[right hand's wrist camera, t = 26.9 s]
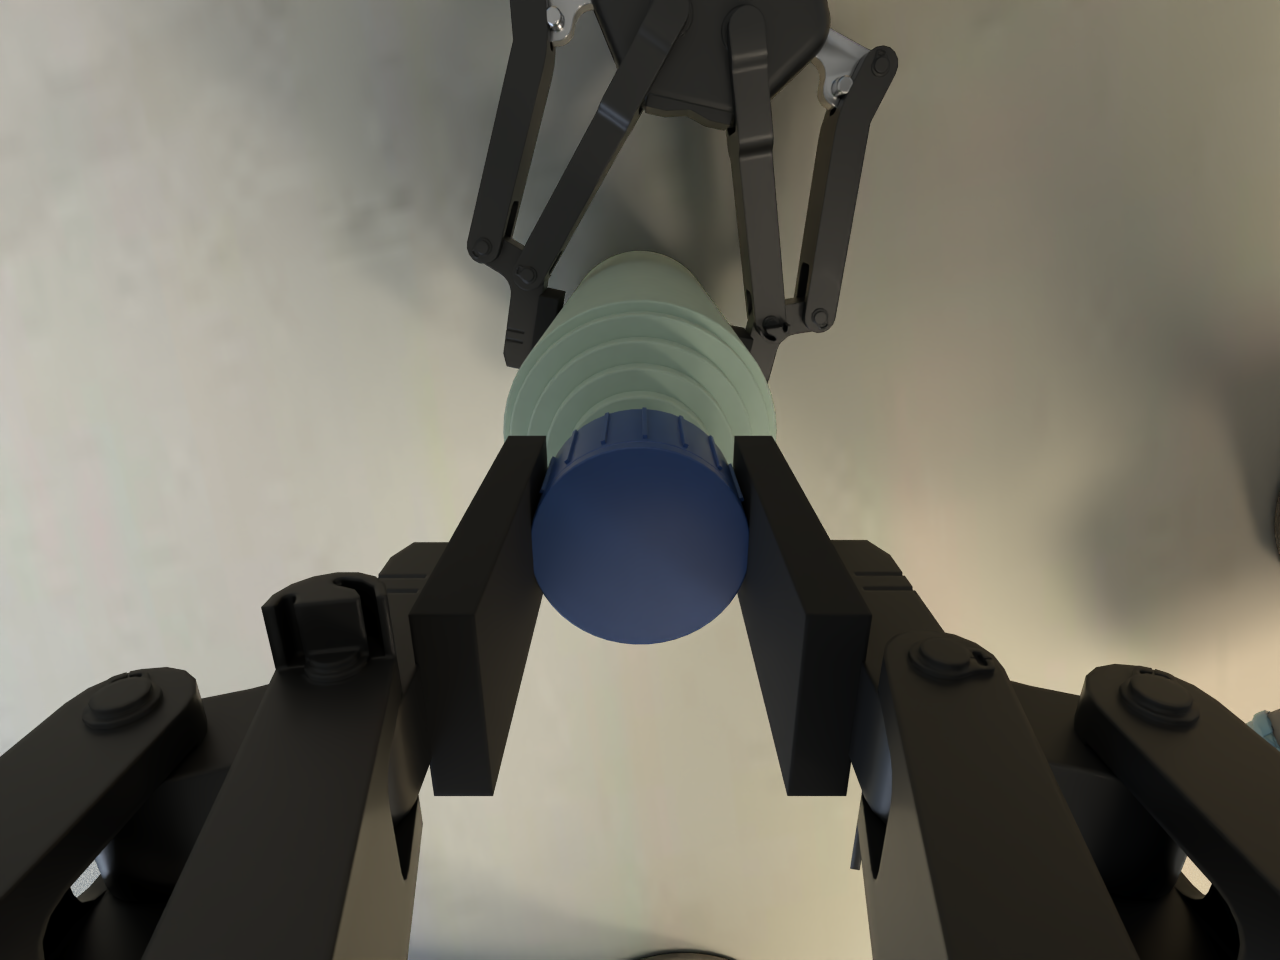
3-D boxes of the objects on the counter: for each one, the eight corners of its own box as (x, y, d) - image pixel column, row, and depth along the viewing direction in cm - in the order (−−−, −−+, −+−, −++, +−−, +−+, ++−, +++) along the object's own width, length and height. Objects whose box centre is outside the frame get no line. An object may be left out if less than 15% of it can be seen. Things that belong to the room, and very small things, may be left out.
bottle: (559, 380, 36) (435, 657, 14) (580, 237, 33) (469, 305, 11) (694, 405, 36) (775, 709, 14) (725, 266, 33) (880, 383, 12)
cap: (616, 615, 15) (613, 682, 13) (503, 476, 14) (478, 525, 12) (772, 522, 15) (795, 578, 12) (666, 366, 13) (671, 398, 11)
